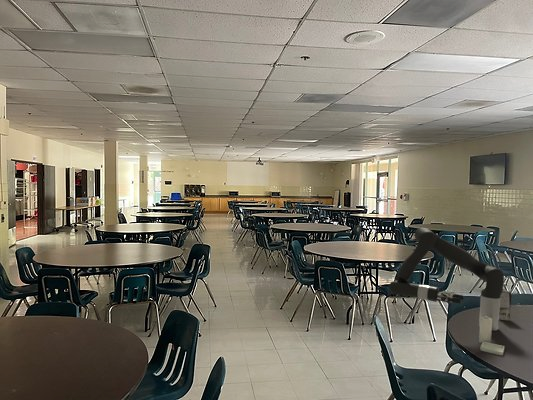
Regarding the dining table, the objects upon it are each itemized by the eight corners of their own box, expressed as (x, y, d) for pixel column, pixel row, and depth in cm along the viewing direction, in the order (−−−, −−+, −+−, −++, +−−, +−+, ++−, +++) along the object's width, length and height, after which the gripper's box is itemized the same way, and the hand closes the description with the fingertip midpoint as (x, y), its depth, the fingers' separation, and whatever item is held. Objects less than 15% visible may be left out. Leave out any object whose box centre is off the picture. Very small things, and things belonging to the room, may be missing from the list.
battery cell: (479, 339, 199) (481, 314, 198) (491, 342, 196) (492, 316, 195) (478, 342, 195) (480, 316, 194) (490, 345, 192) (491, 319, 191)
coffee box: (510, 320, 229) (512, 293, 229) (498, 319, 231) (499, 292, 230) (504, 315, 238) (505, 289, 238) (492, 314, 240) (494, 288, 239)
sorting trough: (482, 344, 193) (482, 341, 193) (504, 349, 188) (504, 346, 188) (480, 350, 185) (480, 347, 185) (502, 355, 180) (502, 352, 180)
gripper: (425, 288, 204) (460, 294, 195) (431, 283, 216) (464, 289, 206) (424, 303, 204) (459, 310, 195) (430, 297, 216) (463, 303, 207)
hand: (462, 299), depth 201 cm, fingers open, 8 cm apart
